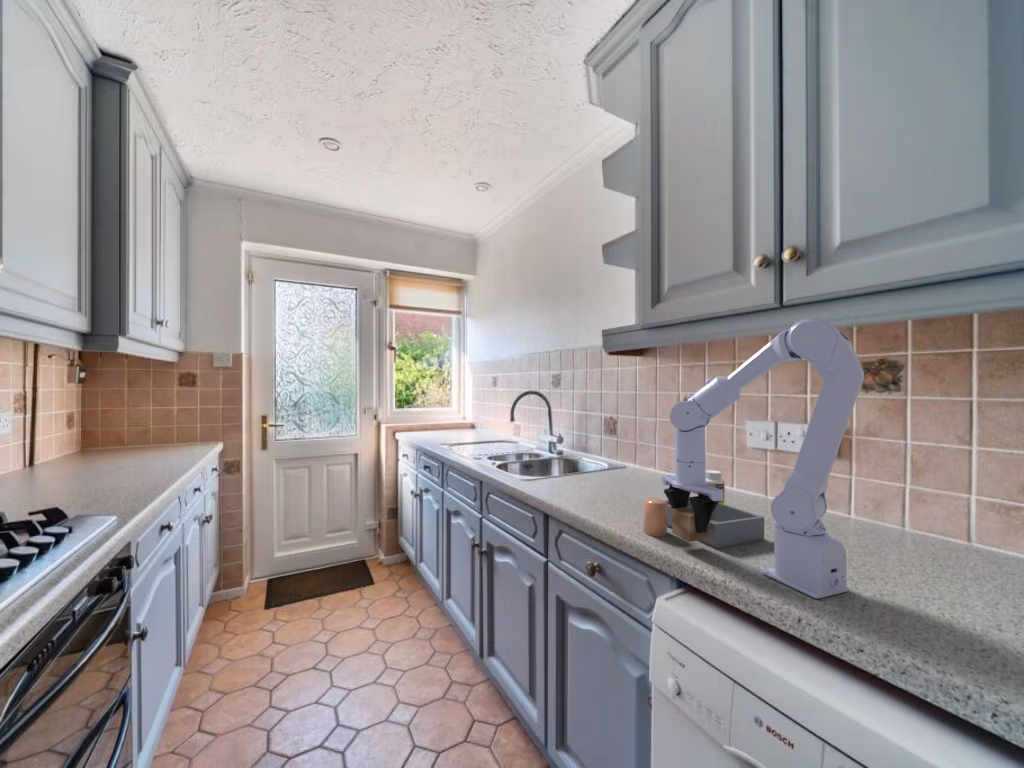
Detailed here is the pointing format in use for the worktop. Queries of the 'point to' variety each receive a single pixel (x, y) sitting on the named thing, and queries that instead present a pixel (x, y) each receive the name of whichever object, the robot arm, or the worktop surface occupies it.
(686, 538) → the walnut block
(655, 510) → the terracotta cylinder
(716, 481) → the supplement bottle
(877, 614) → the worktop surface
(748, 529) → the tote
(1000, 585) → the worktop surface
